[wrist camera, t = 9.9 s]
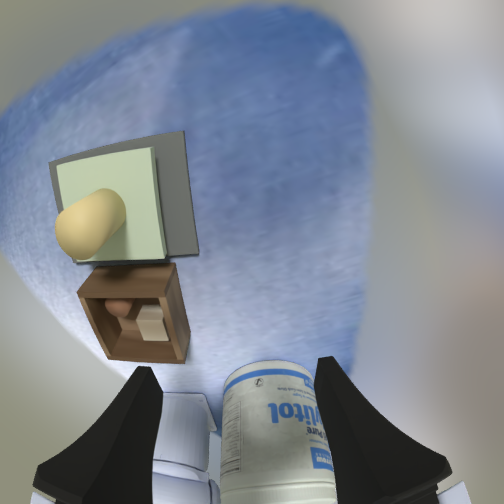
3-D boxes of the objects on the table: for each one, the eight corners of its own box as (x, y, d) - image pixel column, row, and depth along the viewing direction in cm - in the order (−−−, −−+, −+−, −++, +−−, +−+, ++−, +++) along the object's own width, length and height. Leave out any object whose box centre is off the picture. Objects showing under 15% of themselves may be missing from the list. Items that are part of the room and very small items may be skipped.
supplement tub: (327, 361, 26) (365, 491, 13) (290, 408, 30) (307, 513, 16) (235, 347, 24) (238, 504, 11) (213, 399, 28) (209, 516, 15)
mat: (199, 251, 19) (198, 253, 19) (75, 260, 19) (73, 263, 19) (184, 130, 16) (183, 130, 15) (51, 161, 15) (48, 162, 15)
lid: (169, 248, 19) (147, 293, 14) (86, 251, 19) (50, 290, 14) (157, 145, 16) (123, 156, 11) (68, 161, 15) (19, 179, 10)
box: (191, 330, 23) (184, 363, 20) (121, 329, 23) (108, 359, 19) (176, 260, 20) (164, 290, 16) (98, 265, 20) (76, 291, 16)
